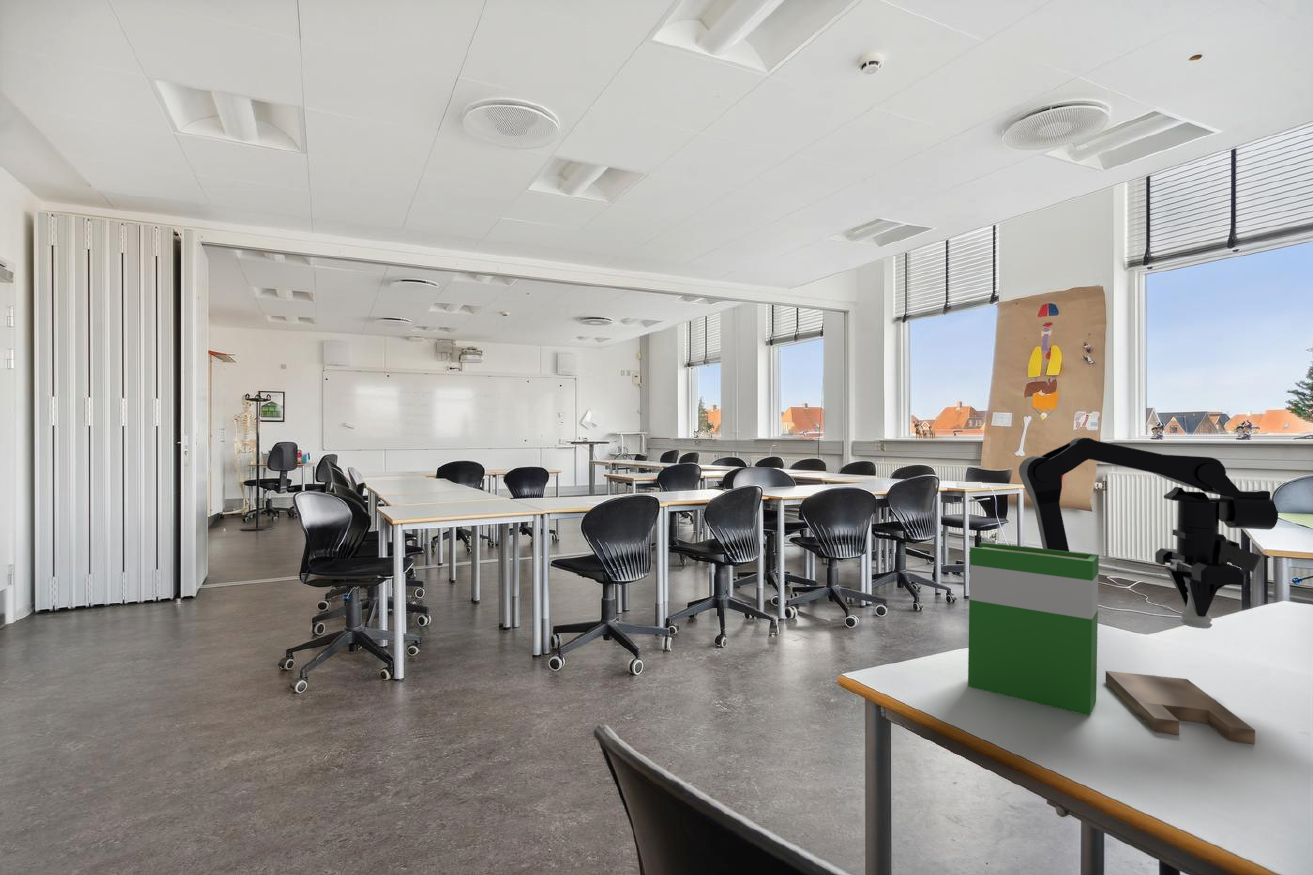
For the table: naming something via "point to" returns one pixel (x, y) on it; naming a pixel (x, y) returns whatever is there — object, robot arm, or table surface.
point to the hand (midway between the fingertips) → (1196, 613)
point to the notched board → (1176, 705)
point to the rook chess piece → (1194, 617)
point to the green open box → (1034, 625)
